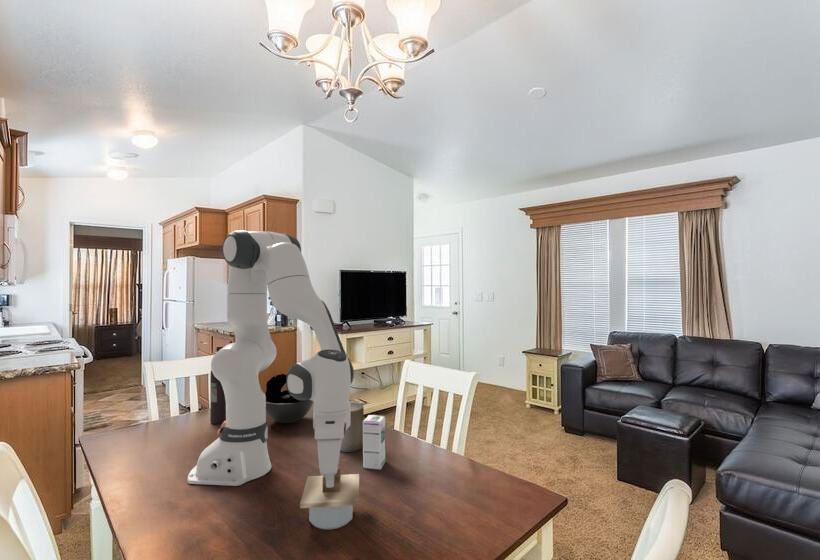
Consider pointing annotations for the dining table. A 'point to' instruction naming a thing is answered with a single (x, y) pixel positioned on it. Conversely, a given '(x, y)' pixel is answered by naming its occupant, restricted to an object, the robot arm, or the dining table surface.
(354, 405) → the pillar candle
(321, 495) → the lid
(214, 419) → the wine bottle
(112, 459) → the dining table surface
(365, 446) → the syrup box
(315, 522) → the bowl
